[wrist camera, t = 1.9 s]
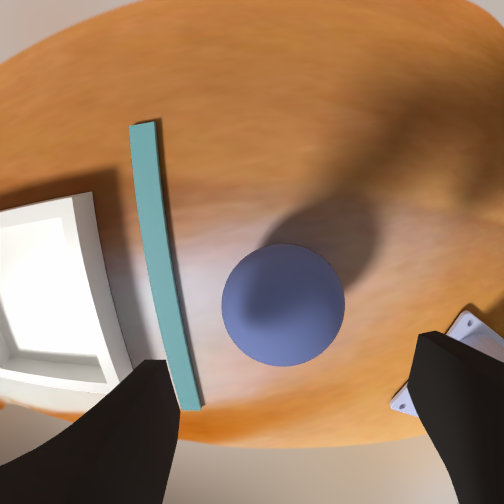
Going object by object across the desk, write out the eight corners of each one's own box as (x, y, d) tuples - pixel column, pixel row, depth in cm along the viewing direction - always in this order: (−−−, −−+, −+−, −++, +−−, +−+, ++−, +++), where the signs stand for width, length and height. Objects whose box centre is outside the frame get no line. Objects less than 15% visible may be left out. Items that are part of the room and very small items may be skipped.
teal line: (201, 407, 18) (201, 410, 17) (182, 407, 18) (181, 410, 17) (155, 122, 13) (153, 121, 13) (131, 126, 13) (129, 126, 13)
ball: (347, 262, 15) (388, 309, 10) (293, 341, 16) (308, 406, 11) (258, 211, 14) (264, 239, 9) (207, 299, 15) (192, 359, 11)
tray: (92, 191, 14) (71, 197, 12) (134, 373, 17) (124, 395, 15) (-32, 219, 14) (-52, 226, 12) (12, 361, 17) (-2, 376, 15)
